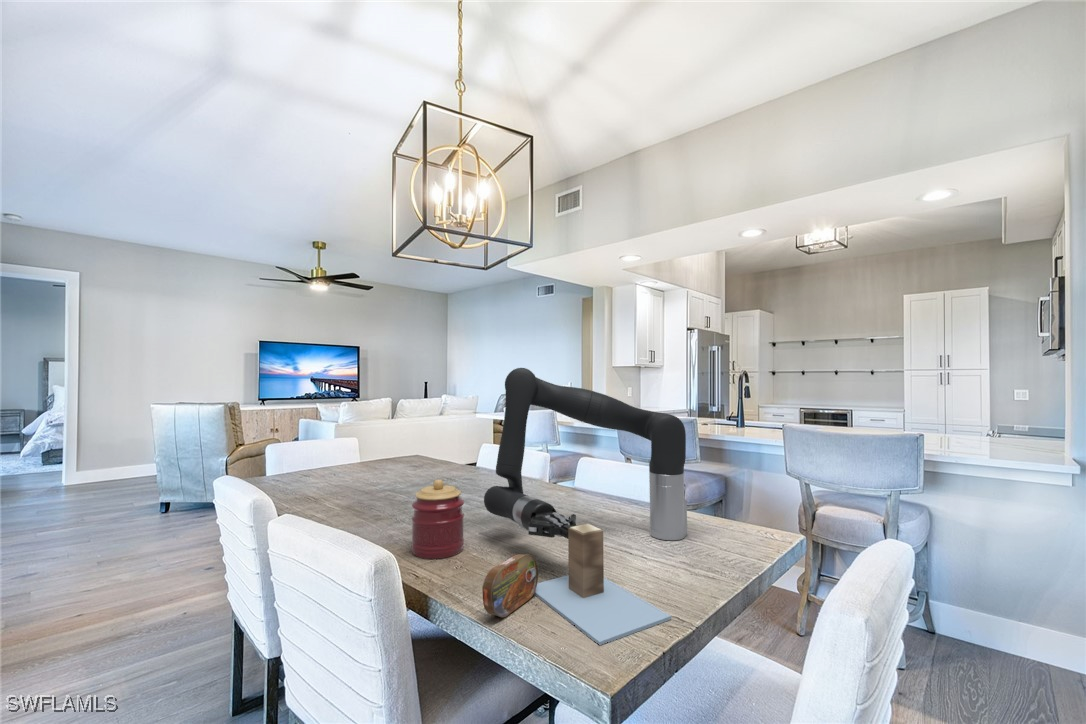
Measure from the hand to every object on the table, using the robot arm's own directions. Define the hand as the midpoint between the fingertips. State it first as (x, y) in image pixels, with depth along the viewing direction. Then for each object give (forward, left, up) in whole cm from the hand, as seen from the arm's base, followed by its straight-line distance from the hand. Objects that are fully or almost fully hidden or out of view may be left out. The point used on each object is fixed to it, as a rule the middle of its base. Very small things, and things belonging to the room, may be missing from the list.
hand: (575, 535), depth 96 cm
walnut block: (0, +4, -10) cm, 11 cm away
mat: (+1, +8, -11) cm, 13 cm away
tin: (+15, +1, -11) cm, 18 cm away
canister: (+17, -35, -11) cm, 41 cm away
